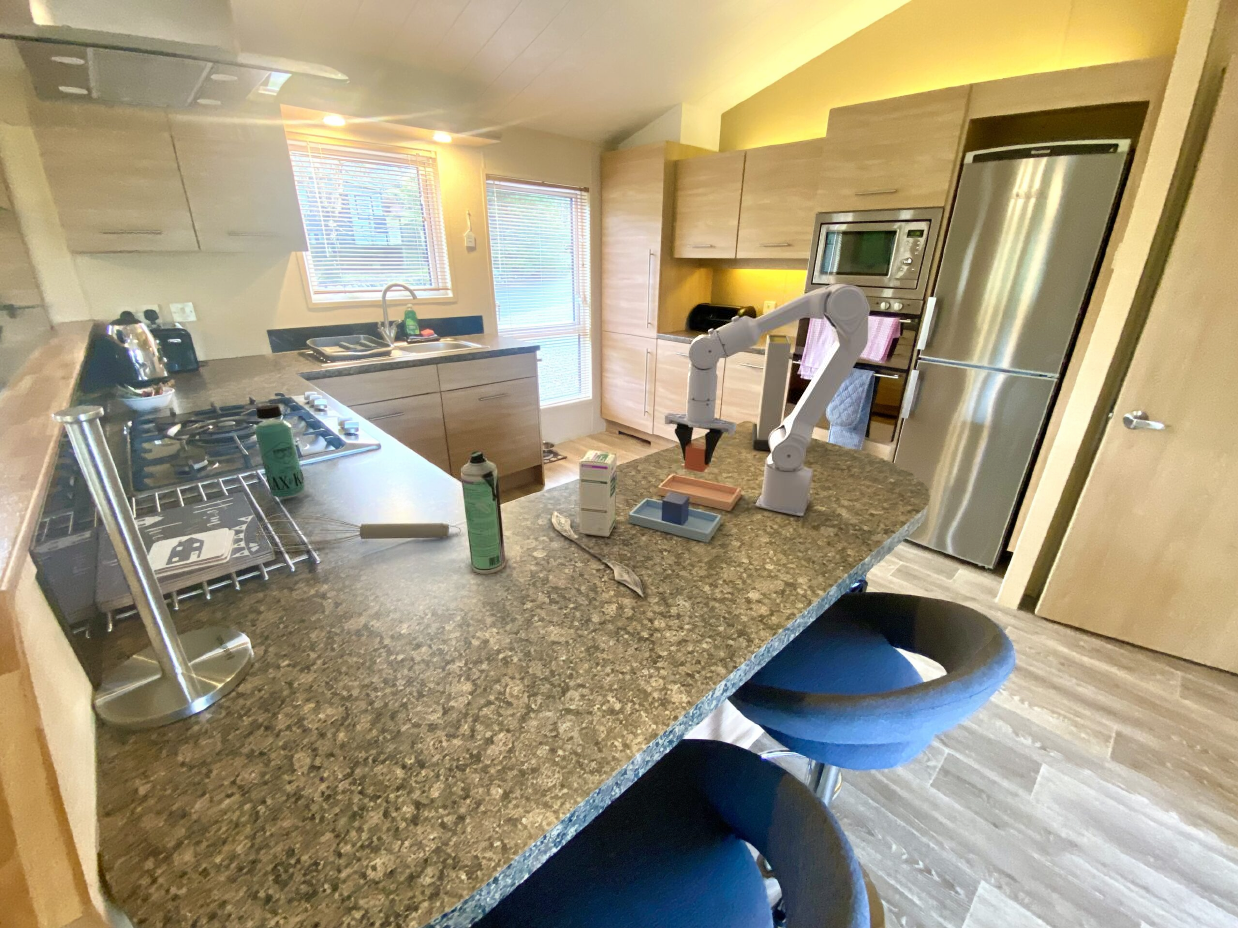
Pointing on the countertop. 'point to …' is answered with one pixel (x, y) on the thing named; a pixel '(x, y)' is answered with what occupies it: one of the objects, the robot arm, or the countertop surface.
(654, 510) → the blue tray
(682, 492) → the peach tray
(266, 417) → the beverage bottle
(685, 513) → the blue block
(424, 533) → the kitchen whisk
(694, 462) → the terracotta block
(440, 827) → the countertop surface
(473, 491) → the spray can
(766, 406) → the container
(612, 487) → the syrup box
